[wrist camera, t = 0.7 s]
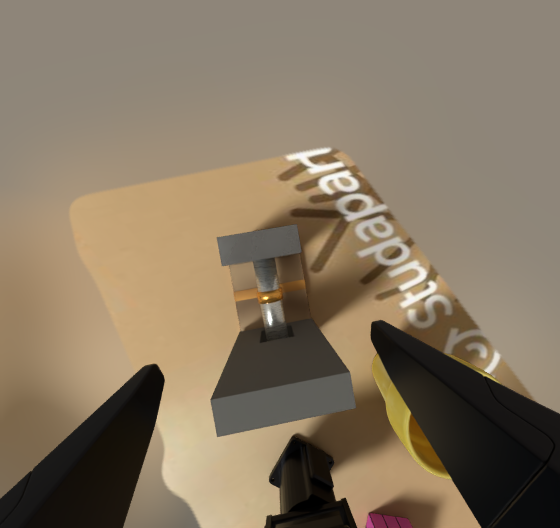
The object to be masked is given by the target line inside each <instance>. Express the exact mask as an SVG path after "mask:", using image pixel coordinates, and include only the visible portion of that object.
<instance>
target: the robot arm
mask: <svg viewBox="0 0 560 528" xmlns="http://www.w3.org/2000/svg"><path fill="white" fill-rule="evenodd" d="M371 341H372V343H373V345H374V347H375V349H376V351H377V353H378V355H379V357H380V359H381V362H382V364H383V366H384V368H385V370H386V372H387V374H388V376H389V377H390V379H391V381H392V383H393V384H394V386H395V388H396V389H397V391H398V392H399V394H400V396H401V397H402V399H403V401H404V402H405V404H406V405H407V407H408V409H409V410H410V412H411V414H412V415H413V417H414V419H415V420H416V422H417V423H418V425H419V427H420V428H421V430H422V432H423V433H424V435H425V436H426V438H427V440H428V441H429V443H430V445H431V446H432V448H433V449H434V451H435V453H436V454H437V456H438V458H439V459H440V461H441V463H442V464H443V466H444V467H445V469H446V471H447V472H448V474H449V476H450V477H451V479H452V480H453V482H454V484H455V485H456V487H457V489H458V490H459V492H460V493H461V495H462V497H463V498H464V500H465V502H466V503H467V505H468V507H469V508H470V510H471V511H472V513H473V515H474V516H475V518H476V520H477V521H478V523H479V524H480V526H481V528H560V414H559V413H557V412H555V411H553V410H551V409H549V408H546V407H545V406H543V405H541V404H539V403H537V402H535V401H532V400H530V399H528V398H526V397H524V396H522V395H520V394H519V393H517V392H515V391H513V390H511V389H509V388H507V387H505V386H503V385H501V384H499V383H498V382H496V381H494V380H492V379H490V378H488V377H487V376H483V375H482V374H481V373H479V372H477V371H475V370H473V369H472V368H470V367H468V366H466V365H464V364H462V363H460V362H459V361H457V360H455V359H453V358H451V357H449V356H448V355H446V354H444V353H442V352H440V351H438V350H436V349H435V348H433V347H431V346H429V345H427V344H425V343H424V342H422V341H420V340H418V339H416V338H414V337H412V336H411V335H409V334H407V333H405V332H403V331H401V330H400V329H398V328H396V327H394V326H392V325H390V324H388V323H387V322H385V321H383V320H379V321H373V322H372V324H371ZM164 382H165V379H164V375H163V374H162V372H161V370H160V368H159V367H158V365H157V364H150V365H146V366H144V367H142V368H141V369H140V370H139V371H138V372H137V373H136V374H135V375H134V376H133V377H132V378H131V379H130V380H128V381H127V382H126V383H125V384H124V385H123V386H122V387H121V388H120V389H119V390H118V391H117V392H116V393H114V394H113V395H112V396H111V397H110V398H109V399H108V400H107V401H106V402H105V403H104V404H103V405H101V406H100V407H99V408H98V409H97V410H96V411H95V412H94V413H93V414H92V415H91V416H90V417H89V418H87V420H85V421H84V422H83V423H82V424H81V425H80V426H79V427H78V428H77V429H75V430H74V431H73V432H72V433H71V434H70V435H69V436H68V437H67V438H66V439H65V440H64V441H63V442H61V443H60V444H59V445H58V446H57V447H56V448H55V449H54V450H53V451H52V452H51V453H50V454H48V456H46V457H45V458H44V459H43V460H42V461H41V462H40V463H39V464H38V465H37V466H35V468H34V469H33V471H30V472H29V473H28V474H27V475H26V476H25V477H24V478H23V479H21V480H20V481H19V482H18V483H17V484H16V485H15V486H14V487H13V488H12V489H11V490H9V491H8V492H7V493H6V494H5V495H4V496H3V497H2V498H1V499H0V528H123V526H124V522H125V519H126V516H127V513H128V510H129V507H130V503H131V500H132V497H133V494H134V491H135V487H136V484H137V481H138V478H139V474H140V472H141V468H142V465H143V462H144V459H145V456H146V453H147V449H148V446H149V443H150V440H151V437H152V433H153V430H154V427H155V423H156V419H157V415H158V410H159V406H160V401H161V396H162V392H163V387H164ZM294 441H295V442H294ZM329 461H330V462H329ZM333 465H334V460H333V457H331V456H330V455H328V454H326V453H324V452H323V451H321V450H319V449H318V448H316V447H314V446H312V445H310V444H307V443H305V442H304V441H302V440H300V439H298V438H296V437H292V438H291V439H290V441H289V443H288V444H287V446H286V448H285V450H284V451H283V453H282V455H281V457H280V458H279V460H278V462H277V464H276V465H275V467H274V469H273V471H272V472H271V474H270V476H269V482H270V483H271V484H272V485H274V486H276V487H278V488H280V513H281V514H279V515H274V516H272V515H268V516H267V518H266V526H265V527H264V528H357V526H356V523H355V521H354V518H353V516H352V513H351V510H350V508H349V505H348V503H347V500H346V498H343V499H341V500H340V501H336V499H335V495H334V492H333V487H334V485H333V481H332V477H331V474H330V470H331V468H332V466H333Z"/></svg>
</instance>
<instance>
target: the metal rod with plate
mask: <svg viewBox="0 0 560 528" xmlns="http://www.w3.org/2000/svg"><path fill="white" fill-rule="evenodd" d="M217 241H218V247H219V253H220V258H221V264H222V266H228V265H238V264H243V263H249V262H253V265H254V271H255V277H256V282H257V288H258V291H257V292H256V293H257V299H258V303H259V304H260V305H261V311H262V316H263V322H264V328H265V333H266V339H267V342H268V341H273V340H278V339H283V338H289V337H288V331H287V326H286V320H285V314H284V308H283V303H282V299H283V292H282V287H280V285H279V280H278V274H277V268H276V262H275V258H278V257H284V256H290V255H294V254H298V253H301V246H300V240H299V234H298V228H297V224H295V225H289V226H283V227H277V228H271V229H265V230H259V231H253V232H247V233H241V234H235V235H229V236H223V237H217Z"/></svg>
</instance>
